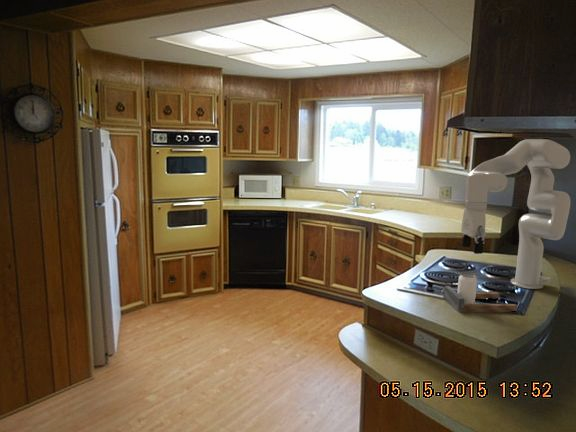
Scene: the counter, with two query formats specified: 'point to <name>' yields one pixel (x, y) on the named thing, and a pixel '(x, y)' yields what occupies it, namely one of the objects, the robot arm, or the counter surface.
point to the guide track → (459, 305)
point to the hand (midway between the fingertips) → (472, 250)
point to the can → (467, 287)
